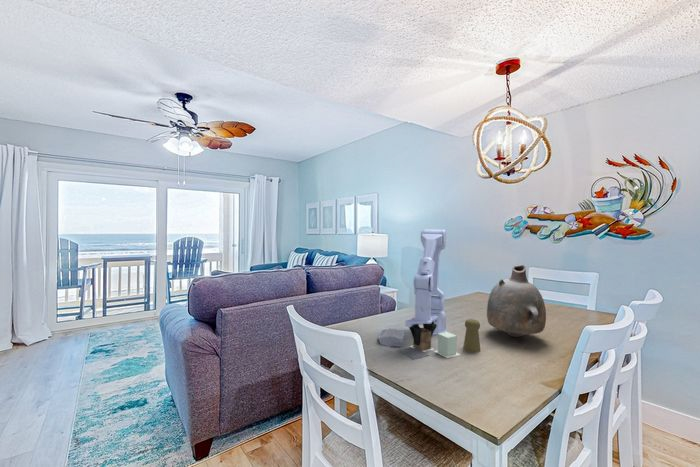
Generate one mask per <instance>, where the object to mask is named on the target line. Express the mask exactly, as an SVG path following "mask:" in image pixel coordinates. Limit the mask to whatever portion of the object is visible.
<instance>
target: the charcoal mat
mask: <svg viewBox="0 0 700 467" xmlns="http://www.w3.org/2000/svg"><path fill="white" fill-rule="evenodd" d="M400 353H402V354H403V355H405V356H406V357H409V358H410V359H412V361H414V360H417V359H422V358H425V357H426V358H427V357H429V356H430V355H429V354H428V353H426V352H423V351H421V350H419V349H417V348H410V349H405V350H401V351H400Z"/></svg>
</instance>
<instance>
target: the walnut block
mask: <svg viewBox="0 0 700 467" xmlns="http://www.w3.org/2000/svg"><path fill="white" fill-rule="evenodd" d="M421 328H422V331H421V335H420V344H419V346H417V345H416V344H414V340H413V341H412V342H413V343H412V344H413V345H412V346H413V347H415V348H417V349H419V350H421V351H424V350H428V349H431V348H432V337H431V331H429V330H427V329H425V328H423V327H421Z"/></svg>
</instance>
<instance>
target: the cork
mask: <svg viewBox="0 0 700 467" xmlns="http://www.w3.org/2000/svg"><path fill="white" fill-rule="evenodd" d="M464 326H465V335H464V340H463V347H462V348H463V350H465V351H466V352H468V353H479V352H481V342H480V341H481V340H480V334H479V333H480V331H479V330H480V327H481V324H480V321H479V320H477V319H474V318H467V319H466V320H465V321H464Z"/></svg>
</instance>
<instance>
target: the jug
mask: <svg viewBox="0 0 700 467" xmlns="http://www.w3.org/2000/svg"><path fill="white" fill-rule="evenodd" d="M526 268H527V267H526V266H525V265H524V264H521V265H517V266H516V265H515V266H513V267H512V269H511V271H512V272H511V275H510V277H509V278H506V279H503V278H501V279H500V280H498V282H497V283H496V284H495V285H494V286H493V287H492V289H491V291H490V293H489V296H488V300H487V305H486V318H487V322H488V324H489V325H490V326H491V327H493V328H494V329H497V330H500V331H503V332H505V333H507V334H508V335H510V336H512V337H514V338H518V337H522V336H525V335H526V336H527V335H535V334H540V333H542V332H543V331H544V330H545V328H546V321H547V310H546V305H545V301H544V298H543V295H542V294H541V292H540V290H539V289H538V288H537V287H536V286H535V285H534V284H532V283H531V282H529V281H528V279H527V273H526V270H527V269H526Z"/></svg>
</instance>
